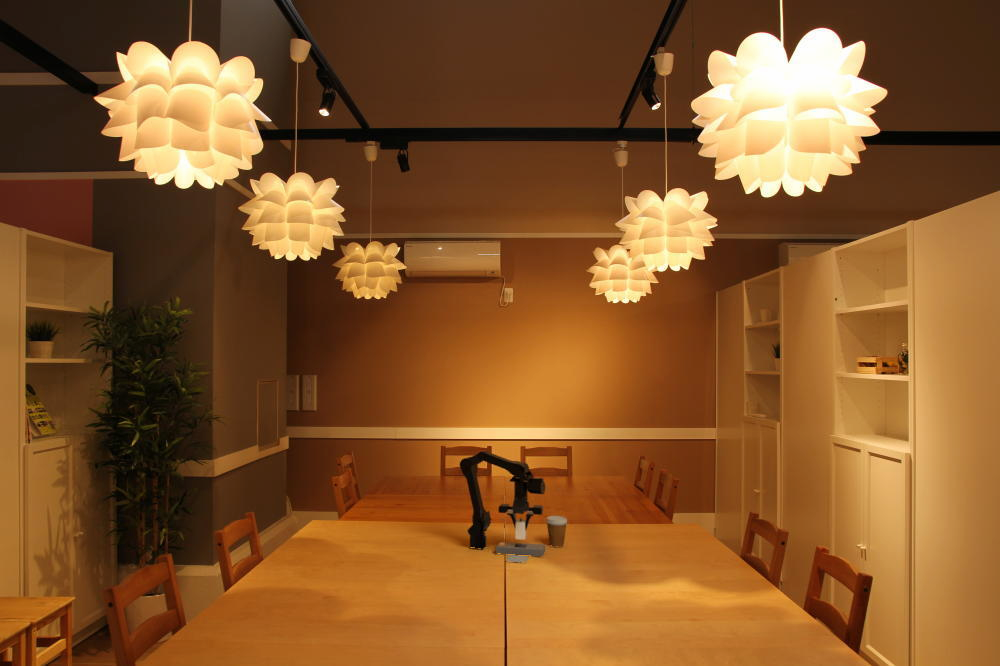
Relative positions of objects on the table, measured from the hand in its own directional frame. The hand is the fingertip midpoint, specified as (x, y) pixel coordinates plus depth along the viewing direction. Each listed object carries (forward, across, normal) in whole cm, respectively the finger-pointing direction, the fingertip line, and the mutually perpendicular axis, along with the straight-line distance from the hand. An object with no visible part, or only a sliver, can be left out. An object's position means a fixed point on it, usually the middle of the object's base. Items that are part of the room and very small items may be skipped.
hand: (520, 529), depth 260 cm
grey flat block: (+10, 0, 0) cm, 10 cm away
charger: (+4, 0, 0) cm, 4 cm away
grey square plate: (+10, 0, -10) cm, 14 cm away
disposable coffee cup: (+10, +14, +14) cm, 23 cm away
